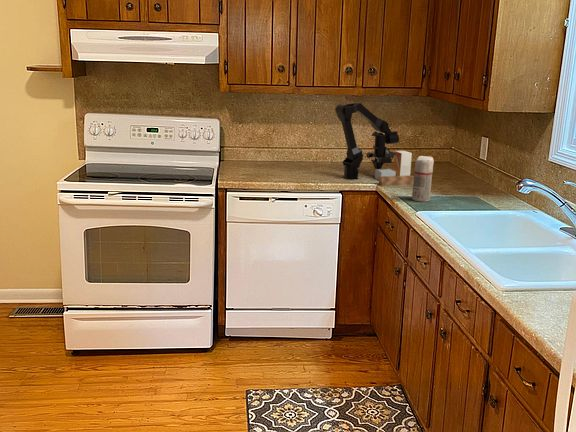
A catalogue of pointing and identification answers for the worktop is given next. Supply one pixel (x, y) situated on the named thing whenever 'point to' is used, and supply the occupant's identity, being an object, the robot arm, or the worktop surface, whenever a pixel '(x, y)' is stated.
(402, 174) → the small box
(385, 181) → the board
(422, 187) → the spray can
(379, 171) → the block
